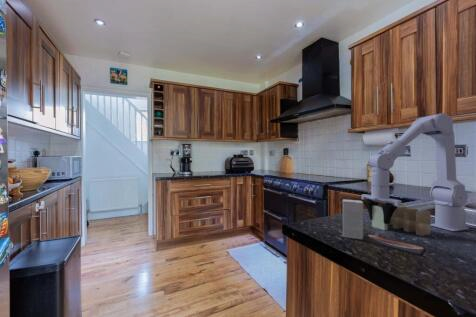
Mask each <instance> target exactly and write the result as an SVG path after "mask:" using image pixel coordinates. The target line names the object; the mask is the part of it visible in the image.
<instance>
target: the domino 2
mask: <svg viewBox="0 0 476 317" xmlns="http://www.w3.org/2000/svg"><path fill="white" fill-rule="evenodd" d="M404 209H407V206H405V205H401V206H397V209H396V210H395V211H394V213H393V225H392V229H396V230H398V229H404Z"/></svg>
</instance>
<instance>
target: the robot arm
mask: <svg viewBox="0 0 476 317" xmlns="http://www.w3.org/2000/svg"><path fill="white" fill-rule="evenodd" d="M453 123H454V121H453V117H451V116H450V114H447V113H444V112H440V113H438V114H437V113H436V114H433V115H428V116H427V115H426V116H423V117H422V116H420V117H418V118H416V119H415V121H413V122H411V125H410V126H409V128H407V129H406V131H405V132H403V133H402V135H401V136H400V137H398V139H393V140H388V141H387V142H386V145H385V146H384V147H383V148H382V149H379V150H378V153H377V154H372V155H371V156H370V158H369V160H368V161H367V164H368V166H369V168H370V172H371V182H370V183H371V185H370V186H371V187H370V189H371V192H370V194H365V193H364V194H361V198H360V199H361V200H364V201H363V205H364V206H365V207H366V210H367V212H368V216H369V220H371V221H372V206H374V205H376V206H379V203H381V204H380V205H381V206H380V207H382V209H383V215H384V224H390V220H391V217H392V215H393V213H394V211H395V210H396V209H397V206H402V200H400V199H395V198H393V197H392V198H391V197H390V169H391V168H393V166H394V164H395V161H396V160H397V159H398V158H399V157H400V156H401V155H402V154H403V153H404V152H406V149H407V148H406V146H407V145H408V144H410V143H411V142H413V141H414V140H415V139H416V138H418V137H419V136H420V135H421V134H423V135H426V136H428V137H430V138H432V139H434V141H435V142H434V143H435V144H434V145H435V162H436V166H435V167H436V179H435V181H433V182H432V183H431V189H430V191H429V196H430V199H431V200H432V201H433V203H434V204H435V205H434V206H435V208H434V212H435V214H434V223H430V227H431V226H432V227H435V228H438V229H442V230H443V229H444V230H447V231H451V232H459V231H460V232H461V231H465V230H469V227H467V226H466V224H467V212H466V209H465V208H464V206H465V205H466V203H467V202H468V199H469V196H468V193H467V190H466V186H465V184H463V183H462V182H460V181H459V180H458V179H457V167H456V166H457V164H456V143H455V142H456V141H455V140H456V138H455V132H454V124H453Z"/></svg>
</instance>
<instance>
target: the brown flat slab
mask: <svg viewBox="0 0 476 317" xmlns="http://www.w3.org/2000/svg"><path fill="white" fill-rule="evenodd" d="M361 240H362V242H365V243H366V242H367V243H369V244H370V243H371V244H374V245H378V246H380V247H384V248H388V249H393V250H396V251H399V252H404V253H407V254H411V255H415V256H422V254H424V252H425V250H426V249H425V247H422V246H419V245H415V244H412V243H411V244H410V243H406V242H404V241H398V240H394V239H390V238H386V237H381V236H377V235H373V234H367V235H365V236H363V239H361Z"/></svg>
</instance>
